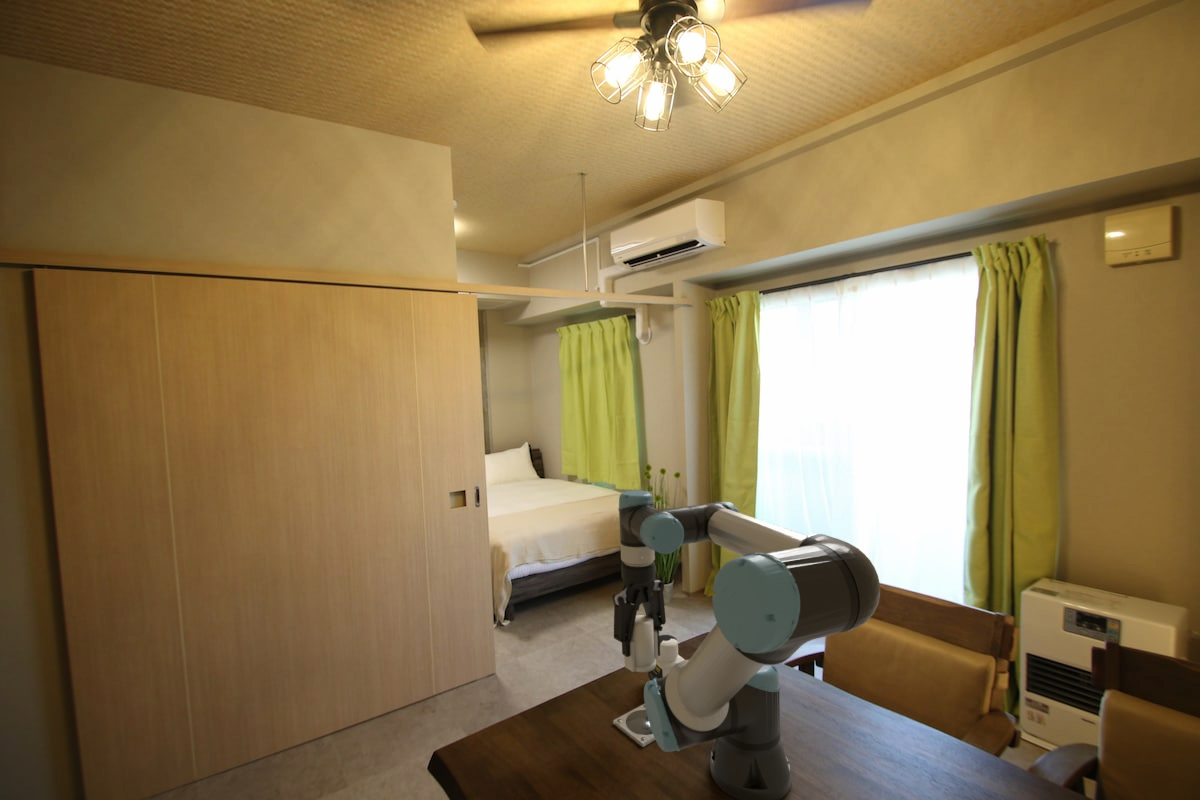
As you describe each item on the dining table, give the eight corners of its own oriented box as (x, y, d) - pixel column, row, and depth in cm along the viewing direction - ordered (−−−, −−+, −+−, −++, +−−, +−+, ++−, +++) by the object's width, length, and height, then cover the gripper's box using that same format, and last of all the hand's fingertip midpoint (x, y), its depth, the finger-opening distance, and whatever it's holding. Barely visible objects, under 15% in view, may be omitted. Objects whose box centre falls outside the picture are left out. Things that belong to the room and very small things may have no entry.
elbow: (662, 665, 117) (660, 620, 117) (641, 675, 113) (639, 629, 113) (634, 649, 124) (632, 607, 124) (613, 658, 121) (611, 615, 120)
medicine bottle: (648, 681, 135) (646, 635, 135) (671, 674, 138) (670, 629, 138) (662, 696, 129) (661, 648, 128) (687, 687, 132) (685, 641, 131)
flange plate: (676, 727, 117) (676, 723, 117) (642, 747, 111) (642, 743, 111) (646, 706, 125) (645, 702, 125) (613, 723, 119) (613, 719, 119)
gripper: (657, 547, 126) (660, 642, 126) (593, 567, 114) (597, 672, 115) (680, 555, 120) (683, 654, 120) (615, 576, 108) (619, 687, 109)
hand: (641, 663), depth 118 cm, fingers closed on elbow, 6 cm apart
